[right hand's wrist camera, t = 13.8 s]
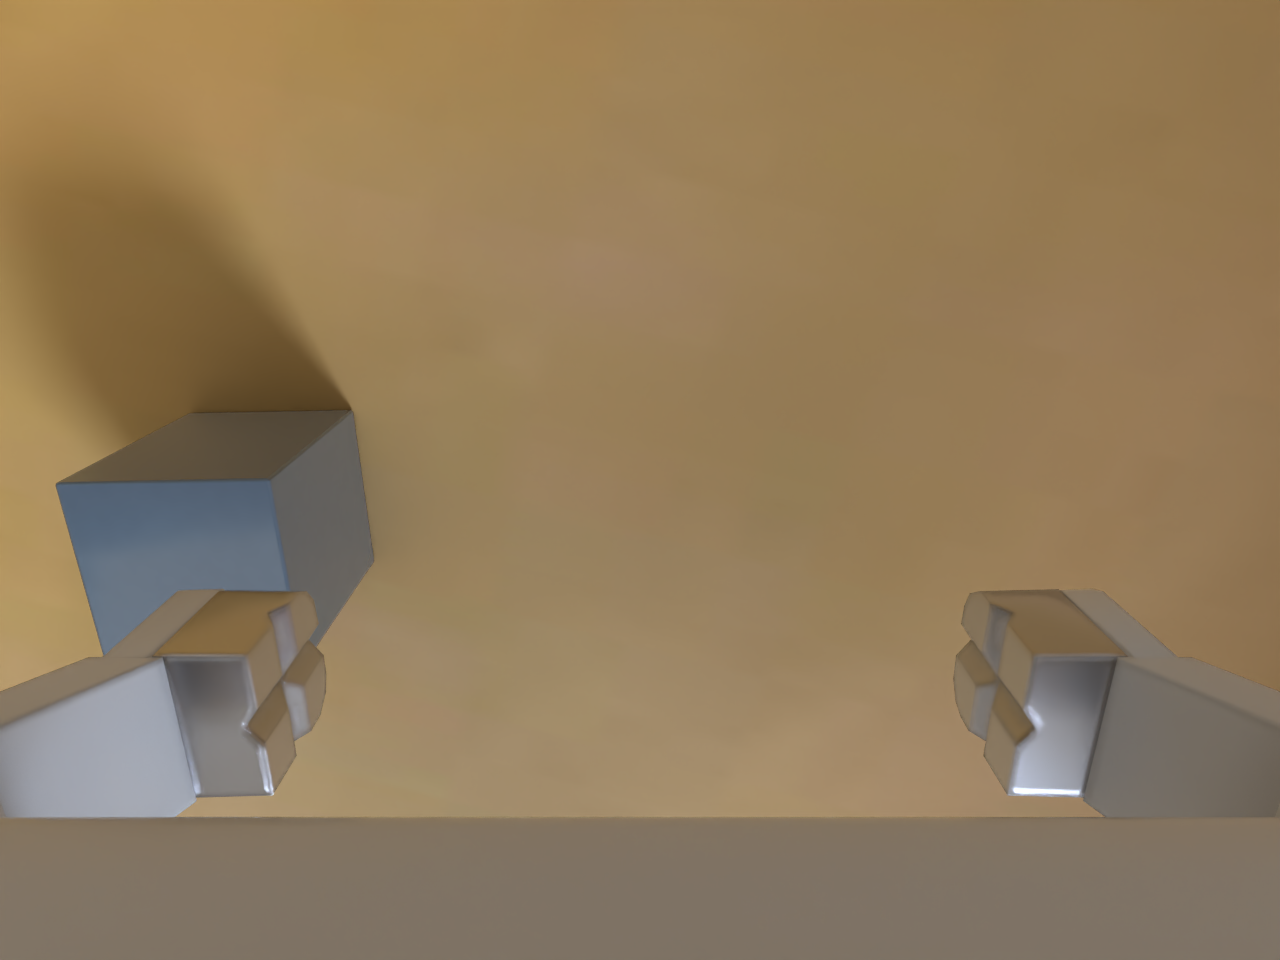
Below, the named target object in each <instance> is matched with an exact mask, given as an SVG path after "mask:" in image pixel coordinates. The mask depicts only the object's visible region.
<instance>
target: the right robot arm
mask: <svg viewBox="0 0 1280 960" xmlns="http://www.w3.org/2000/svg"><path fill="white" fill-rule="evenodd" d="M318 624H319V623H318V618H317V613H316V608H315V603H314V599H313V598H312V597H311V596H310V595H309V593H308V592H307V591H266V590H224V589H200V590H180V591H177V592H176V593H175V594H174V595H172V596H171V597H170V598H169V599H168V600H167V601H166V602H164V603H163V604H162V605H161V606H160V607H159V608H158V609H157V610H155V611H154V612H153V613H152V614H151V615H150V616H149V617H147V618H146V619H145V620H144V621H143V622H142V623H141V624H139V625H138V626H137V627H136V628H135V629H134V630H133V631H131V632H130V633H129V634H128V635H127V636H126V637H125V638H123V639H122V640H121V641H120V642H119V643H118V644H117V645H115V646H114V647H113V648H112V649H111V650H110V651H109V652H108V653H106V654H105V655H104V656H103V657H88V658H85V659H83V660H80V661H78V662H75V663H73V664H70V665H67V666H65V667H62V668H60V669H57V670H55V671H52V672H49V673H47V674H44V675H42V676H39V677H37V678H34V679H31V680H29V681H26V682H24V683H21V684H19V685H16V686H13V687H11V688H8V689H6V690H3V691H0V960H1280V692H1279V691H1277V690H1274V689H1272V688H1269V687H1266V686H1264V685H1261V684H1259V683H1256V682H1254V681H1251V680H1249V679H1246V678H1243V677H1241V676H1238V675H1236V674H1233V673H1231V672H1228V671H1225V670H1223V669H1220V668H1218V667H1215V666H1213V665H1210V664H1207V663H1205V662H1202V661H1200V660H1197V659H1195V658H1192V657H1177V656H1176V655H1175V654H1174V653H1173V652H1171V651H1170V650H1169V649H1168V648H1167V647H1166V646H1165V645H1163V644H1162V643H1161V642H1160V641H1159V640H1158V639H1157V638H1156V637H1154V636H1153V635H1152V634H1151V633H1150V632H1149V631H1148V630H1146V629H1145V628H1144V627H1143V626H1142V625H1141V624H1140V623H1139V622H1137V621H1136V620H1135V619H1134V618H1133V617H1132V616H1131V615H1129V614H1128V613H1127V612H1126V611H1125V610H1124V609H1123V608H1121V607H1120V606H1119V605H1118V604H1117V603H1116V602H1115V601H1114V600H1112V599H1111V598H1110V597H1109V596H1108V595H1107V594H1106V593H1104V592H1103V591H1099V590H1095V589H1074V590H1059V589H1054V590H1012V591H979V592H974V593H970V594H969V597H968V599H967V601H966V603H965V606H964V611H963V617H962V623H961V624H962V626H963V627H964V629H965V630H966V632H967V633H968V635H969V637H970V638H971V640H970V641H969V643H968V644H967V645H966V646H965V647H964V648H963V649H962V650H961V651H960V652H959V653H958V654H957V655H956V662H955V671H954V689H955V700H956V704H957V707H958V710H959V713H960V716H961V718H962V720H963V722H964V723H965V725H966V727H967V729H968V730H969V731H970V732H972V733H973V734H975V735H977V736H978V737H980V738H981V739H983V740H985V741H986V744H985V750H984V757H985V759H986V761H987V762H988V764H989V766H990V767H991V769H992V771H993V772H994V774H995V775H996V777H997V779H998V780H999V782H1000V784H1001V785H1002V787H1003V789H1004V790H1005V792H1006V794H1007V795H1012V796H1049V797H1084V799H1083V801H1084V802H1086V803H1087V804H1089V805H1090V806H1091V807H1093V808H1094V809H1095V810H1097V811H1098V812H1099V813H1101V814H1102V815H1104V816H1105V817H175V816H177V815H178V814H179V813H181V812H182V811H184V810H185V809H186V808H188V807H189V806H190V805H192V804H193V803H195V802H196V797H229V796H265V795H273V794H274V792H275V790H276V789H277V787H278V786H279V784H280V782H281V781H282V779H283V777H284V776H285V774H286V772H287V771H288V769H289V767H290V766H291V764H292V762H293V761H294V759H295V757H296V756H297V755H296V750H295V744H294V741H295V740H297V739H299V738H300V737H302V736H303V735H305V734H307V733H308V732H310V731H311V730H312V729H313V727H314V725H315V723H316V721H317V720H318V718H319V716H320V714H321V710H322V706H323V702H324V698H325V694H326V668H325V661H324V655H323V654H322V653H321V652H320V651H319V650H318V649H317V648H316V647H315V646H314V645H313V644H312V643H311V641H310V640H309V638H310V637H311V635H312V633H313V632H314V630H315V629H316V627H317V626H318Z"/></svg>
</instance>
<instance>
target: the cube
mask: <svg viewBox="0 0 1280 960" xmlns="http://www.w3.org/2000/svg"><path fill="white" fill-rule="evenodd" d="M56 489H57V492H58V496H59V500H60V503H61V507H62V510H63V514H64V517H65V521H66V524H67V528H68V532H69V535H70V539H71V542H72V546H73V549H74V553H75V556H76V560H77V563H78V567H79V571H80V574H81V578H82V581H83V585H84V588H85V592H86V595H87V599H88V603H89V606H90V610H91V613H92V617H93V620H94V624H95V627H96V631H97V634H98V638H99V642H100V645H101V649H102V652H103V656H104V655H105V654H106V653H108V652H109V651H110V650H111V649H112V648H113V647H114V646H115V645H117V644H118V643H119V642H120V641H121V640H122V639H123V638H125V637H126V636H127V635H128V634H129V633H130V632H131V631H133V630H134V629H135V628H136V627H137V626H138V625H139V624H141V623H142V622H143V621H144V620H145V619H146V618H147V617H149V616H150V615H151V614H152V613H153V612H154V611H155V610H157V609H158V608H159V607H160V606H161V605H162V604H163V603H164V602H166V601H167V600H168V599H169V598H170V597H171V596H172V595H174V594H175V593H176V592H177V591H180V590H200V589H224V590H266V591H307V592H308V593H309V595H310V596H311V597H312V598H313V599H314V603H315V608H316V613H317V618H318V623H319V624H318V626H317V627H316V629H315V630H314V632H313V633H312V635H311V637H310V638H309V640H310V641H311V643H312V644H313V645H314V646H315V647H317V645H318V644H319V642H320V641H321V639H322V638H323V636H324V635H325V633H326V632H327V631H328V629H329V628H330V626H331V625H332V623H333V622H334V620H335V619H336V617H337V616H338V614H339V613H340V611H341V610H342V608H343V607H344V605H345V604H346V602H347V601H348V599H349V598H350V596H351V595H352V593H353V592H354V590H355V589H356V587H357V586H358V584H359V583H360V582H361V580H362V579H363V577H364V576H365V574H366V573H367V571H368V570H369V568H370V567H371V565H372V564H373V562H374V557H373V550H372V543H371V536H370V529H369V522H368V515H367V507H366V500H365V493H364V486H363V479H362V472H361V465H360V458H359V451H358V444H357V437H356V430H355V423H354V416H353V412H352V411H351V410H334V411H280V412H227V413H189V414H187V415H185V416H183V417H182V418H180V419H178V420H176V421H174V422H172V423H170V424H168V425H166V426H164V427H162V428H160V429H159V430H157V431H155V432H153V433H151V434H149V435H147V436H145V437H143V438H141V439H139V440H138V441H136V442H134V443H132V444H130V445H128V446H126V447H124V448H122V449H120V450H118V451H117V452H115V453H113V454H111V455H109V456H107V457H105V458H103V459H101V460H99V461H97V462H95V463H94V464H92V465H90V466H88V467H86V468H84V469H82V470H80V471H78V472H76V473H74V474H73V475H71V476H69V477H67V478H65V479H63V480H61V481H59V482H57V483H56Z"/></svg>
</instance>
